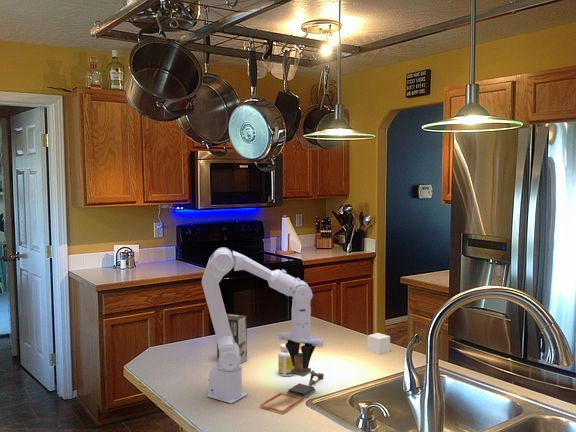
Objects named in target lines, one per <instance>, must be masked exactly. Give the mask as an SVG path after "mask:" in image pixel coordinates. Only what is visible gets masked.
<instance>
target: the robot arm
mask: <svg viewBox="0 0 576 432" xmlns="http://www.w3.org/2000/svg"><path fill="white" fill-rule="evenodd" d="M232 269H233V271H234V272H237V271H245V272H248V273H250V274H253V275H254V276H256V277H259V278H261V279H263V280H265V281H267V283H268V286H269V288H271V289H273V290H276V291H277V292H279V293H281V294H284V296H287V297H292V298H291V301H292V303H291V304H292V305H291V321H290V323H291V325H290V326H291V327H290V328H291V330H290V331H291V332H284V331H282V332H279V333H278V340H279V341H283V340H284V341H287V342H286V344H285V343H284V344H285V346H286V348H287V349H288V351H289V354H290V357H291V360H292V364H293V366H294V355H296V354H298V353H300V351H301V353H302V357H303V369H306V368H309V365H310V362H311V358H312V355H313V353H314V351H315V349H316V347H317V348H318V349H321V348H323V347H324V345H325V344H324V342H325V340H324V339H321V338H318V337H315V336H313V335H311V321H312V320H311V315H312V314H311V313H312V312H311V311H312V307H311V301H312V299H313V297H314V294H313V291H312V289H311V286H310V285H308V283H307V282H305V280H303V279H302V280H301V278H299V277H294V276H292V275H290V274H288V273H287V271H286V270H285V269H281V270H280V269H274V270H271V269H270V268H267V267H266V266H264V265H262V264H260V263H258V262H257V261H255V260H253V259H252V258H249V257H248V256H246V255H244V254H242V253H239V252H237V251H235V250H232V251H231V249H229V248H228V247H219V248H217V249H216V250H215V251H213V253H212V254H211V255H210V257H209V258H208V262H207V264H206V267H205V269H204V271H203V272H204V273H203V274H202V278H201V286H202V289H203V292H204V297H205V300H206V304H207V307H208V312H209V315H210V319H211V323H212V326H213V330H214V333H215V338H216V344H217V343H218V349H219V362H218V363H215V364H214V365H212V366H211V368H210V370H209V373H208V394H206V396H207V397H208V398H211V399H215V400H218V401H221V402H225V403H227V404H228V403H229V404H234V403H236V402H237V401H239V400H241V399H243V398H244V397H246V396H248V392H245V391H242V390H243V389H242V387H243V386H242V379H243V378H242V375H243V374H242V370H243V369H242V366H243V365H242V364H240V361H241V359H240V354H239V353H240V348H239V346H238V344H237V343H236V342H235V341H234V338H233V335H232V333H231V329H230V325H229V322H228V318H227V314H228V313H227V312H226V308H225V304H224V301H223V297H222V292H221V288H220V284H219V283H220V282H221V281H222V279H223V277H224V276H226V275H228V273H230V271H231V270H232ZM301 344H303V345H301Z"/></svg>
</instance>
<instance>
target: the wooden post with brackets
mask: <svg viewBox="0 0 576 432" xmlns="http://www.w3.org/2000/svg"><path fill="white" fill-rule="evenodd" d="M309 374H310V379H309V381H308V383H309V384H308V386H313V385H315V384H316V383H317V381H316V380H314V377H317V379H319V380H324V375H325V374H324V373H321V372H319V373H318V372H315V370H312V369H311V373H309ZM312 384H313V385H312Z"/></svg>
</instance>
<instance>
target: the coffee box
mask: <svg viewBox="0 0 576 432" xmlns="http://www.w3.org/2000/svg"><path fill="white" fill-rule="evenodd" d="M226 314H227V318H228V322H229V325H230V329H231V333H232V335H233V338H234V341H235V342H236V343H237V344H238V346H239V348H240V353H239V354H240V359H241V361H240V364H241V365H242V364H243V363H245V362H246V361H248V332H247V331H248V329H247V328H248V326H247V325H248V322H247V321H248V319H247V318H248V316H247V315H242V314H235V313H226ZM216 355H217V356H216V359H217V361H216V362H218V363H219V349H218V343H217V342H216Z"/></svg>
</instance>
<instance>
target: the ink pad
mask: <svg viewBox="0 0 576 432" xmlns="http://www.w3.org/2000/svg"><path fill="white" fill-rule="evenodd" d="M315 393H316V389H315V387H314V386H313V385H309V384H308V385H307V384H303V383H297V384H296V385H294V386H292V387H291V388H289V389H288V391H287V392H286V394H289V395H293V396H296V397H300V398H302V399H303V400H305V399H307V398H308V397H310V396H311V395H313V394H315Z"/></svg>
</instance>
